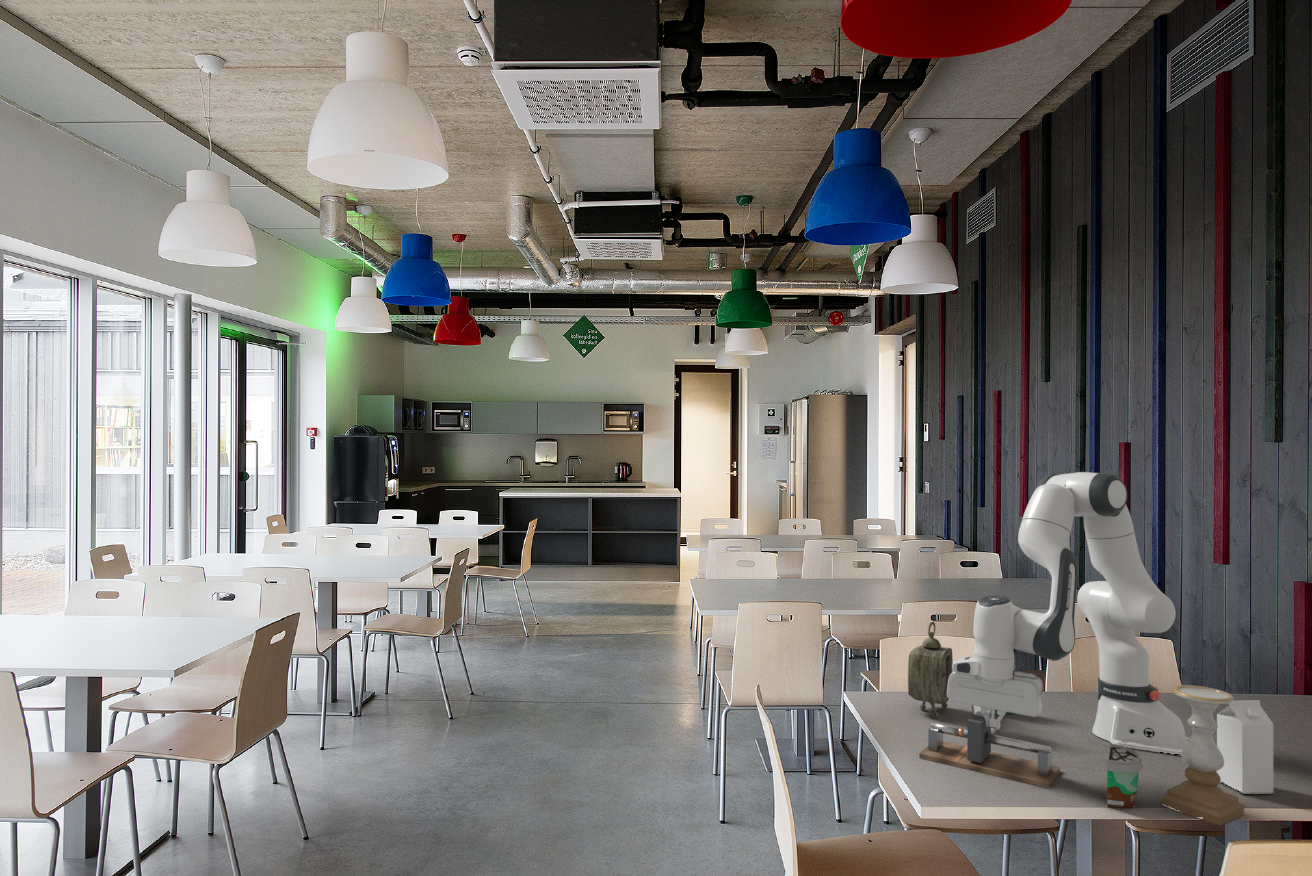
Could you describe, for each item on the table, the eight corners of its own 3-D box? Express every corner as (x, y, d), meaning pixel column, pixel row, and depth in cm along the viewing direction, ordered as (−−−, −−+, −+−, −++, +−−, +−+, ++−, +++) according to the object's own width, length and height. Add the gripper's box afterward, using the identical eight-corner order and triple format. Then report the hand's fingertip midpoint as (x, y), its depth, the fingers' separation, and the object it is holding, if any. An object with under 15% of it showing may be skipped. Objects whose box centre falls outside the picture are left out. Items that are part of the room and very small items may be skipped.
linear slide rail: (1051, 770, 180) (1052, 743, 180) (1047, 777, 176) (1047, 750, 176) (934, 744, 195) (934, 719, 196) (928, 750, 191) (928, 725, 192)
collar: (990, 751, 190) (991, 713, 190) (980, 763, 182) (981, 723, 183) (977, 749, 191) (977, 711, 192) (967, 760, 184) (967, 720, 184)
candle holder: (1186, 794, 171) (1186, 681, 171) (1245, 814, 162) (1245, 695, 162) (1160, 805, 165) (1160, 688, 165) (1220, 827, 156) (1220, 703, 156)
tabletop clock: (940, 721, 216) (941, 628, 216) (906, 715, 221) (907, 624, 221) (952, 707, 228) (953, 619, 229) (919, 702, 233) (920, 615, 233)
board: (1059, 771, 182) (1059, 766, 182) (1049, 788, 173) (1049, 783, 173) (934, 743, 199) (935, 739, 199) (919, 757, 189) (919, 753, 189)
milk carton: (1216, 782, 178) (1216, 696, 178) (1246, 781, 178) (1246, 695, 179) (1242, 795, 171) (1242, 705, 171) (1273, 795, 171) (1273, 705, 172)
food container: (1142, 817, 159) (1142, 766, 159) (1106, 810, 162) (1107, 760, 163) (1143, 796, 170) (1143, 748, 170) (1109, 789, 173) (1110, 742, 173)
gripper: (1045, 672, 182) (1044, 733, 182) (952, 657, 194) (952, 715, 194) (1039, 678, 177) (1039, 741, 177) (945, 663, 189) (944, 722, 189)
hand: (992, 727), depth 185 cm, fingers closed
